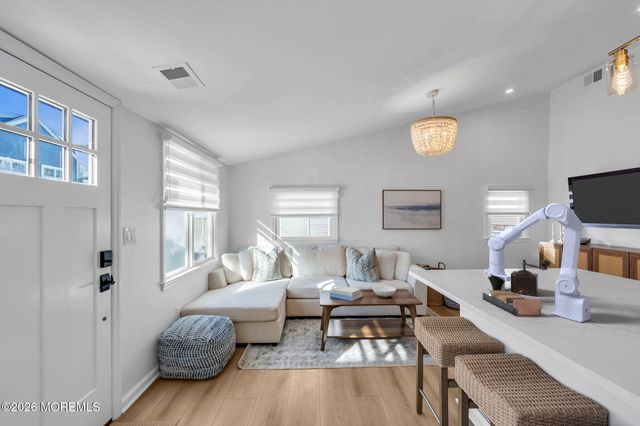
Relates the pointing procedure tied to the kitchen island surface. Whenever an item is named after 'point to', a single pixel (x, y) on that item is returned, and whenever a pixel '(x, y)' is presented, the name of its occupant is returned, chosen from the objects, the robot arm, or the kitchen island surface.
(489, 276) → the can
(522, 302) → the roller bed
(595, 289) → the kitchen island surface
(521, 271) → the manual coffee grinder
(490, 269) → the robot arm
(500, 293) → the tan flat block
